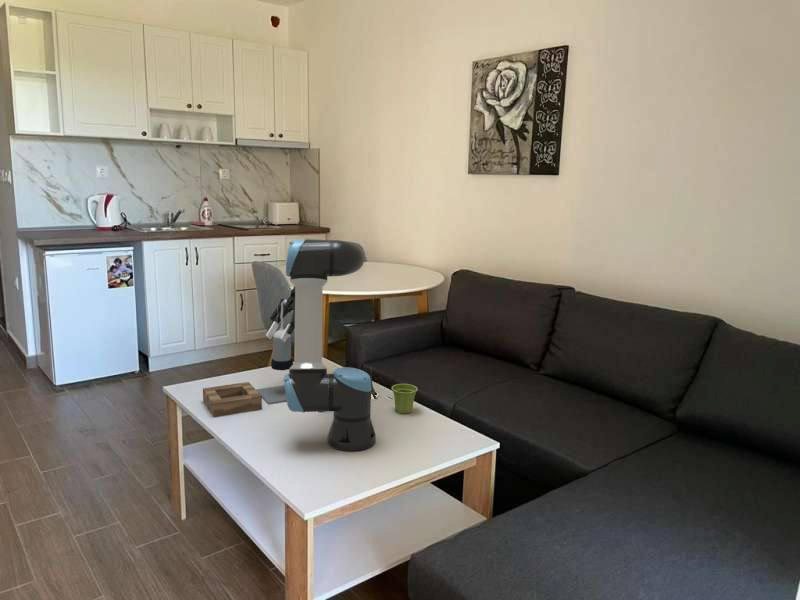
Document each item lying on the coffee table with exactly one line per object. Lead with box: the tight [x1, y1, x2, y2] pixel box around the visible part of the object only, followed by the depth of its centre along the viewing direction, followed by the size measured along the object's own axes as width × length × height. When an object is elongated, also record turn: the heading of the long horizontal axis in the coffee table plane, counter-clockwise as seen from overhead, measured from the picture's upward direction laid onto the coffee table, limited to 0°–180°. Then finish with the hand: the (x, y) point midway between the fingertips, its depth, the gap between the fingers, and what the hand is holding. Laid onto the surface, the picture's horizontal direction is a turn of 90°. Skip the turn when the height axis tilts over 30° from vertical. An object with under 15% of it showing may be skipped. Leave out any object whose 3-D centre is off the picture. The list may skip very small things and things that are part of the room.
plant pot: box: [391, 383, 418, 414], centre depth 212 cm, size 9×9×9 cm
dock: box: [202, 381, 263, 418], centre depth 213 cm, size 17×17×5 cm
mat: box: [255, 384, 287, 405], centre depth 226 cm, size 16×16×1 cm
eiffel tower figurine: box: [369, 367, 393, 400], centre depth 225 cm, size 15×10×13 cm
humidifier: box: [270, 303, 294, 371], centre depth 221 cm, size 8×8×25 cm
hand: (275, 338), depth 219 cm, fingers closed on humidifier, 6 cm apart
